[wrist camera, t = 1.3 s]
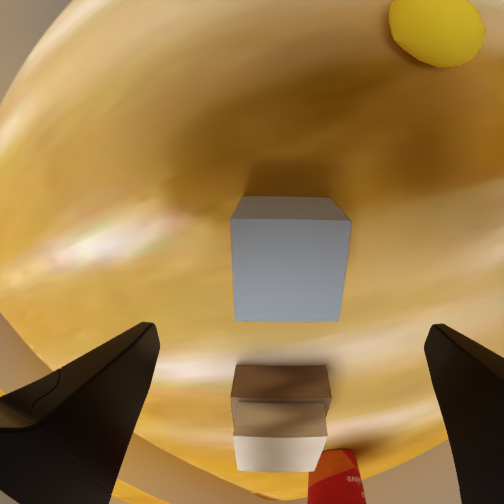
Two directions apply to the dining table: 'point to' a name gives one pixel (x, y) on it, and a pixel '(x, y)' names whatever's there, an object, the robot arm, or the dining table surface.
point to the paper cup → (336, 479)
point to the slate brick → (288, 258)
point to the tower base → (280, 385)
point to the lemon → (437, 30)
